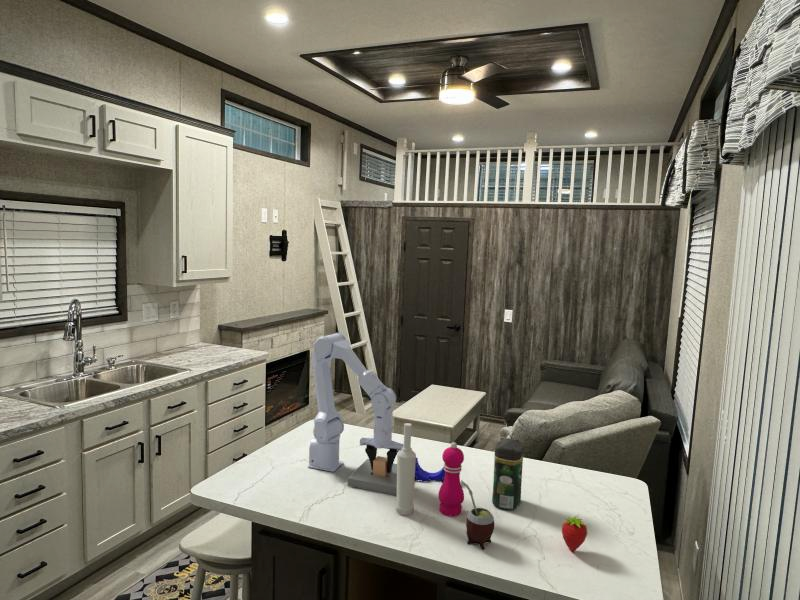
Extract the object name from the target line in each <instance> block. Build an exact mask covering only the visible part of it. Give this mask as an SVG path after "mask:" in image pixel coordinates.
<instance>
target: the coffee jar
mask: <svg viewBox="0 0 800 600" xmlns="http://www.w3.org/2000/svg"><path fill="white" fill-rule="evenodd" d="M524 450H525V447H524V445H523V443H522V442H521V441H520V440H518V439H515V438H514V439H513V438H508V437H507V438H506V437H505V438H504V439H501V440H499V441H498V442H497V443H496V445H495V447H494V455H493V457H494V463H493V464H494V465H493V482H492V484H493V485H492V499H491V500H492V501H491V502H492V504H493V506H495V507H497V508H499V509H501V510H507V511H509V510H510V511H511V510H512V511H513V510H517V508H518V507H519V506H520V504H521V501H522V500H521V499H522V481H523V480H522V479H523V464H524Z"/></svg>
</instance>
